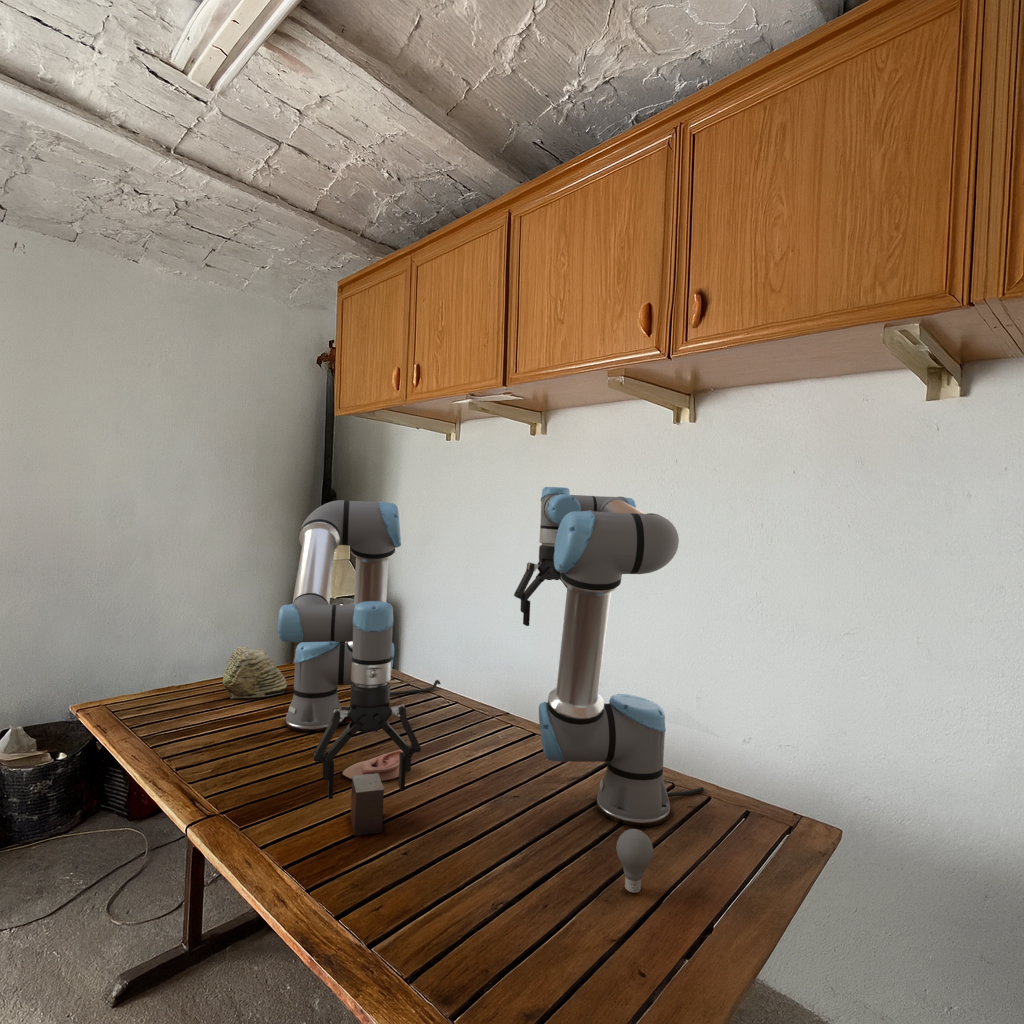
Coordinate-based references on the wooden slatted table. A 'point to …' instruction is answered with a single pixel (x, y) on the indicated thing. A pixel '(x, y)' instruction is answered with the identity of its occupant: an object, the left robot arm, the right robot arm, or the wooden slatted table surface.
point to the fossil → (252, 674)
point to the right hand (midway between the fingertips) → (549, 624)
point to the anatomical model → (377, 766)
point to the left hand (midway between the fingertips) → (366, 791)
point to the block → (367, 804)
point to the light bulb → (634, 857)
